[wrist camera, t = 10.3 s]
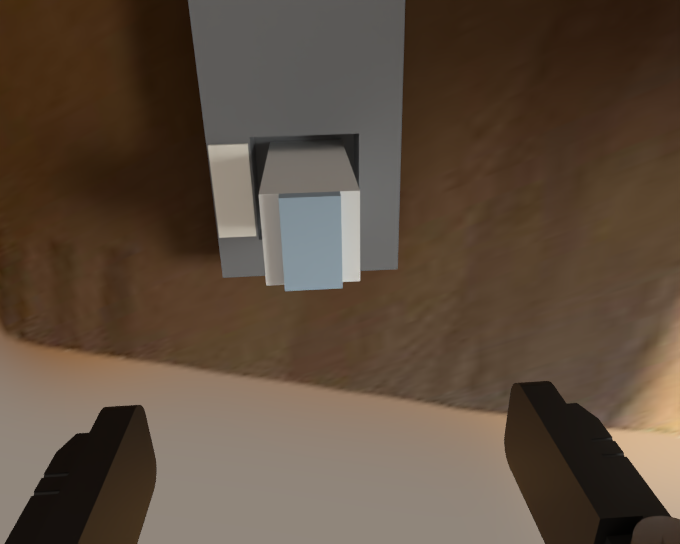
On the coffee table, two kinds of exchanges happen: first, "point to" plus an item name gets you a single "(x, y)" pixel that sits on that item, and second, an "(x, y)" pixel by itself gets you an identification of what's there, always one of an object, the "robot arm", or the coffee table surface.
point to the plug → (310, 216)
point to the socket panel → (300, 108)
